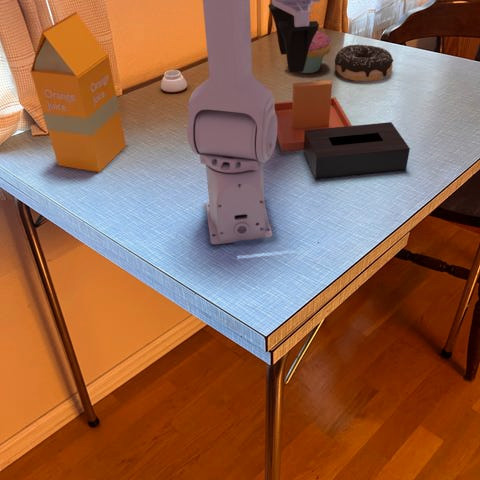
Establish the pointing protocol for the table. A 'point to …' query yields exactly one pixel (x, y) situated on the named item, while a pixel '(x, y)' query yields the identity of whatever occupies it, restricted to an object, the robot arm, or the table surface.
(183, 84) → the lidless jar
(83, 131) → the orange juice
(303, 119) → the toast
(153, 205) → the table surface
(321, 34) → the cupcake
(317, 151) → the toaster
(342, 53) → the donut
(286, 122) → the red tray
